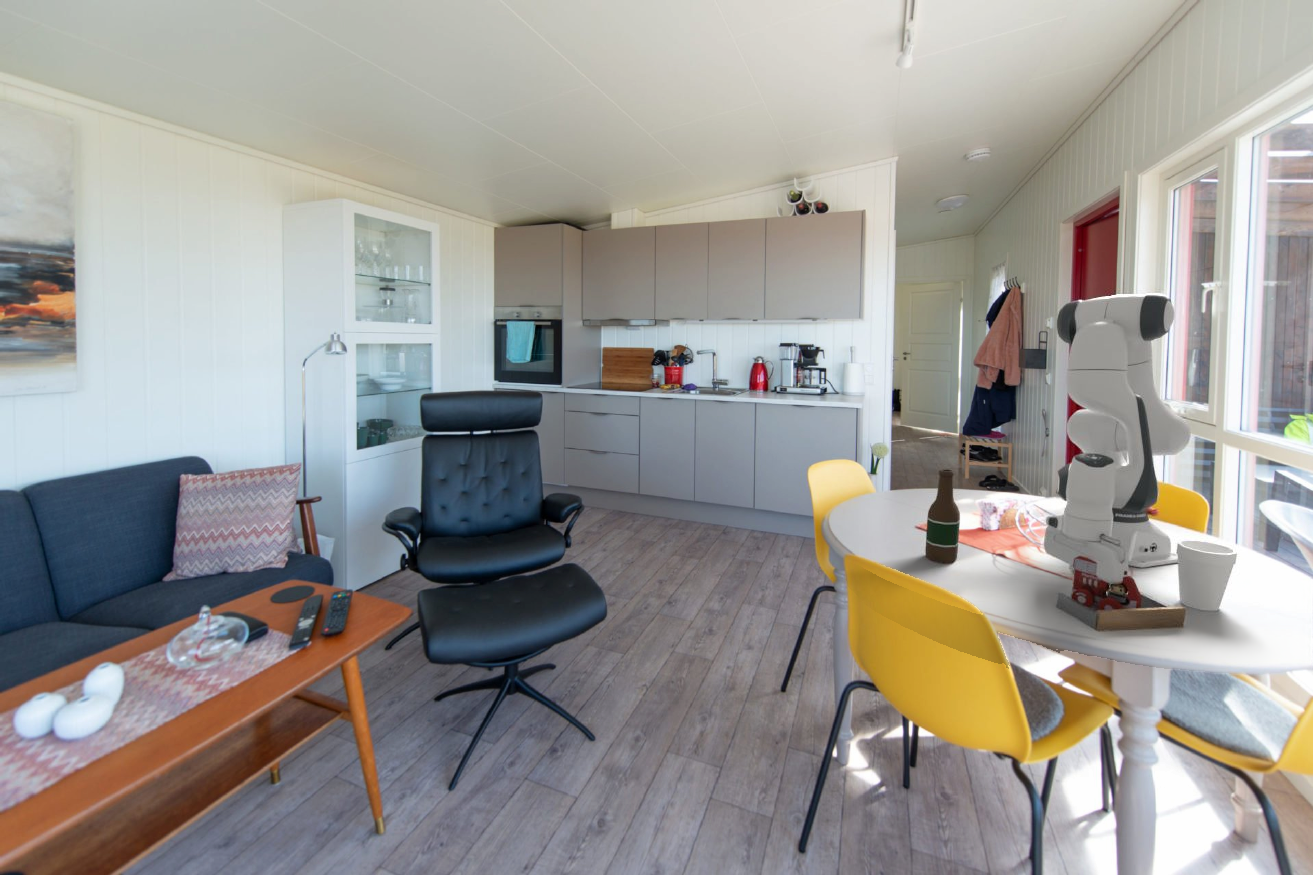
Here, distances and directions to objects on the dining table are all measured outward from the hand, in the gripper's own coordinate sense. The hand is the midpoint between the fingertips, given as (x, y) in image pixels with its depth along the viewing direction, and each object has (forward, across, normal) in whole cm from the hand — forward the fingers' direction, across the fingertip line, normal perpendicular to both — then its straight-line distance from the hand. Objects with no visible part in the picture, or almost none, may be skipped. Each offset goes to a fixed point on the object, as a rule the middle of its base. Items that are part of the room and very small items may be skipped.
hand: (1080, 587), depth 133 cm
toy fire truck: (+2, -7, +1) cm, 7 cm away
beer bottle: (+2, +26, +18) cm, 31 cm away
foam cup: (+2, -6, -22) cm, 23 cm away
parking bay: (+2, -10, 0) cm, 10 cm away
